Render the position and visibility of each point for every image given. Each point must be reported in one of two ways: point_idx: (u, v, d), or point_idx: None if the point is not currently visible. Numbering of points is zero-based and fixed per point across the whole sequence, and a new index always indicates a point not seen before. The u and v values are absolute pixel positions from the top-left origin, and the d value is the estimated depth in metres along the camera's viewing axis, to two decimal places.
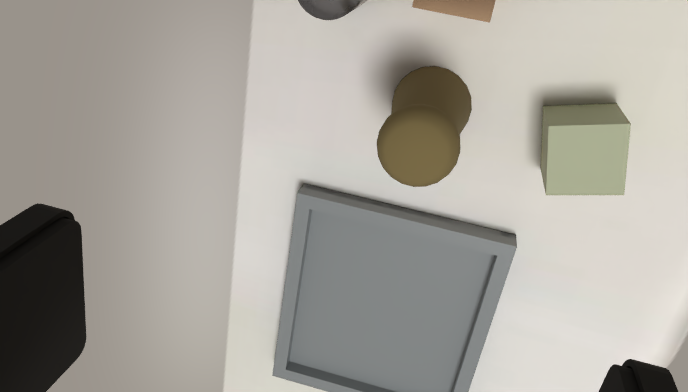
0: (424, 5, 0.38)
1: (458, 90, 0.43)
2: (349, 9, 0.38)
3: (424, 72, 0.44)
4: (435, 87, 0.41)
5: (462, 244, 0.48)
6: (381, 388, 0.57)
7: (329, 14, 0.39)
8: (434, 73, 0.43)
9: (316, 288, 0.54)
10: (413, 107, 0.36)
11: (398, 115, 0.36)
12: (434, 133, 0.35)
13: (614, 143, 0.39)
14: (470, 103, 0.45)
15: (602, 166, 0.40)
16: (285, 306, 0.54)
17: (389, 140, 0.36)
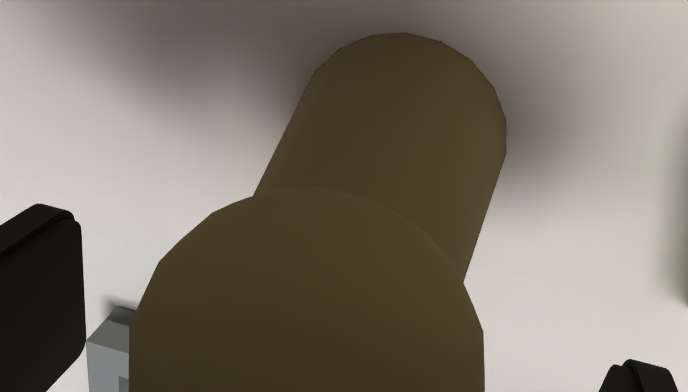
0: None
1: (471, 105, 0.14)
2: None
3: (371, 50, 0.15)
4: (395, 99, 0.12)
5: None
6: None
7: None
8: (399, 53, 0.14)
9: None
10: (265, 217, 0.08)
11: (190, 255, 0.08)
12: (356, 370, 0.07)
13: None
14: (504, 138, 0.16)
15: None
16: None
17: (152, 375, 0.08)
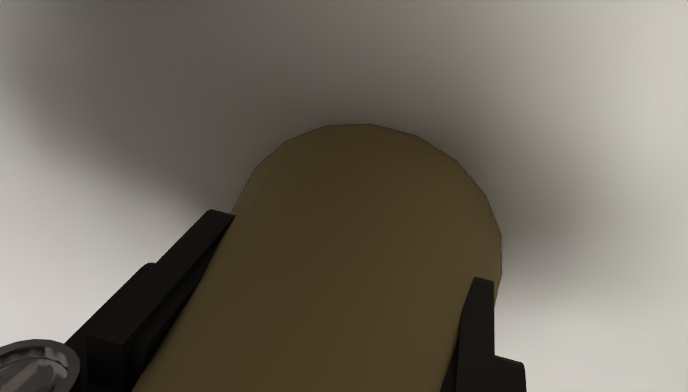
0: None
1: (454, 235, 0.10)
2: None
3: (322, 152, 0.11)
4: (342, 246, 0.09)
5: None
6: None
7: None
8: (358, 159, 0.11)
9: None
10: None
11: None
12: None
13: None
14: (499, 259, 0.12)
15: None
16: None
17: None
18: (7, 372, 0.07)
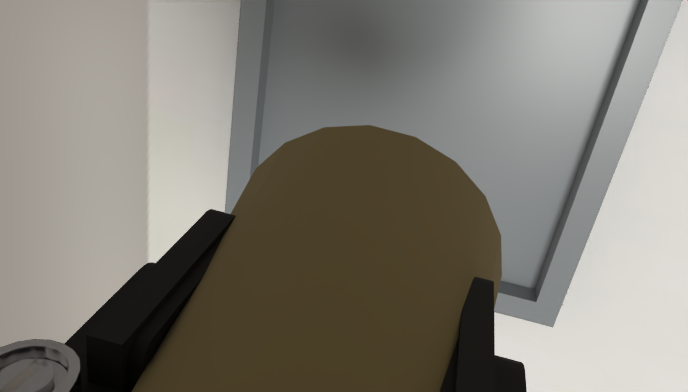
0: None
1: (454, 236, 0.10)
2: None
3: (322, 153, 0.11)
4: (341, 247, 0.09)
5: None
6: None
7: None
8: (358, 160, 0.11)
9: (298, 60, 0.29)
10: None
11: None
12: None
13: None
14: (499, 260, 0.12)
15: None
16: (240, 94, 0.29)
17: None
18: (7, 372, 0.07)
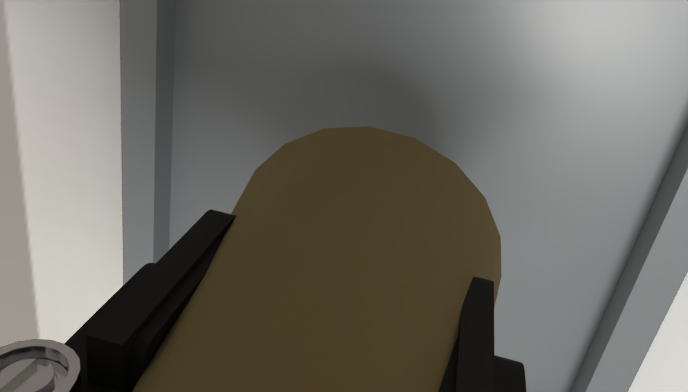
0: None
1: (454, 238, 0.10)
2: None
3: (321, 155, 0.11)
4: (341, 250, 0.09)
5: None
6: None
7: None
8: (357, 162, 0.11)
9: (214, 95, 0.20)
10: None
11: None
12: None
13: None
14: (499, 262, 0.12)
15: None
16: (130, 145, 0.20)
17: None
18: (7, 372, 0.07)
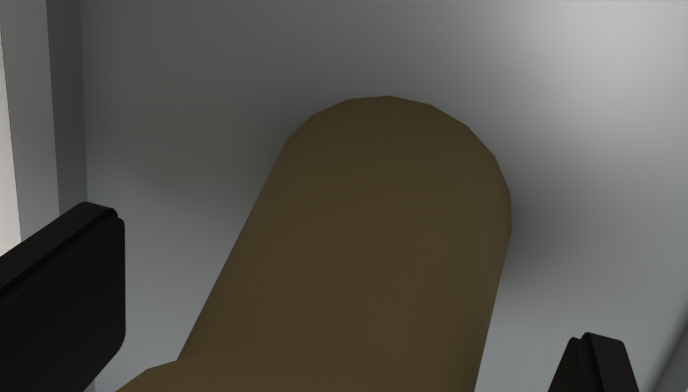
0: None
1: (468, 186, 0.12)
2: None
3: (348, 119, 0.13)
4: (373, 190, 0.10)
5: None
6: None
7: None
8: (381, 124, 0.12)
9: (136, 148, 0.15)
10: None
11: None
12: None
13: None
14: (509, 214, 0.13)
15: None
16: (29, 211, 0.15)
17: None
18: None
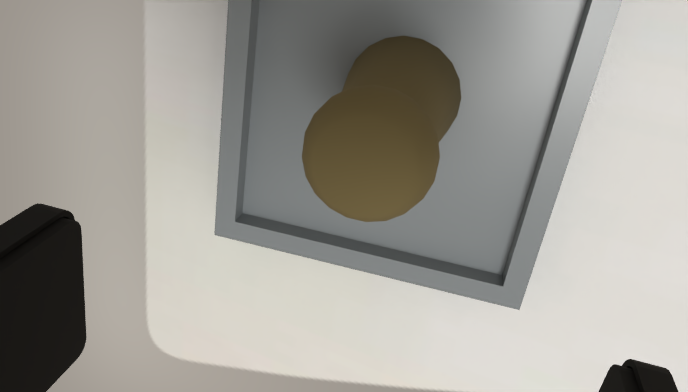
0: None
1: (438, 68, 0.28)
2: None
3: (386, 44, 0.29)
4: (400, 62, 0.26)
5: None
6: (393, 250, 0.34)
7: None
8: (401, 44, 0.28)
9: (280, 67, 0.32)
10: (356, 90, 0.21)
11: (330, 104, 0.21)
12: (391, 131, 0.20)
13: None
14: (459, 88, 0.30)
15: None
16: (228, 98, 0.32)
17: (318, 147, 0.21)
18: None
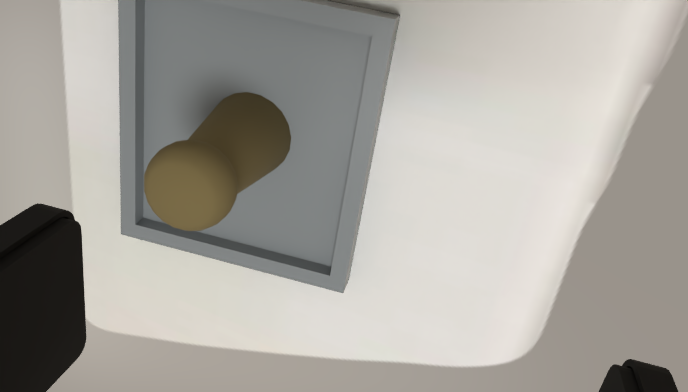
0: None
1: (264, 118, 0.39)
2: None
3: (231, 99, 0.40)
4: (230, 117, 0.37)
5: (327, 22, 0.36)
6: (254, 247, 0.46)
7: None
8: (240, 100, 0.39)
9: (163, 111, 0.43)
10: (175, 144, 0.33)
11: (158, 154, 0.32)
12: (193, 174, 0.32)
13: None
14: (287, 131, 0.41)
15: None
16: (124, 134, 0.43)
17: (150, 182, 0.32)
18: None
